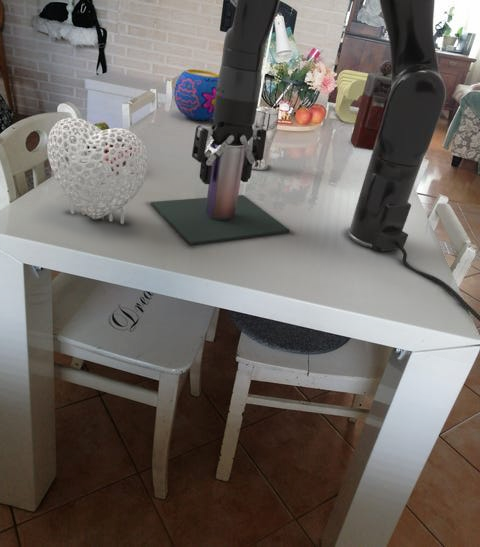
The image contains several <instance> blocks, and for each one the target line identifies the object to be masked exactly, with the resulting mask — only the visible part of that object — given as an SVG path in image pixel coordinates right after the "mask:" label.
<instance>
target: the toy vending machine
mask: <svg viewBox="0 0 480 547" xmlns="http://www.w3.org/2000/svg"><path fill="white" fill-rule="evenodd" d="M379 71H380V73H379V72H378V73H377V72H369V73H368V77H367V80H366V84H365V88H364V91H363V95H362V96H361V99H360V103H359V107H358V111H357V117H356V121H355V123H354V124H353V128H352V132H351V136H350V140H349V141H350V143H351V144H352V146H353V147H354V148H357V149H364V150H370V151H373V149H374V145H375V141H376V138H377V135H378V132H379V129H380V125H381V122H382V118H383V115H384V111H385V108H386V105H387V101H388V98H389V95H390V92H391V82H392V74H391V60H387V59H386V60H384V61H382V62H381V63H380V65H379Z"/></svg>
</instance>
